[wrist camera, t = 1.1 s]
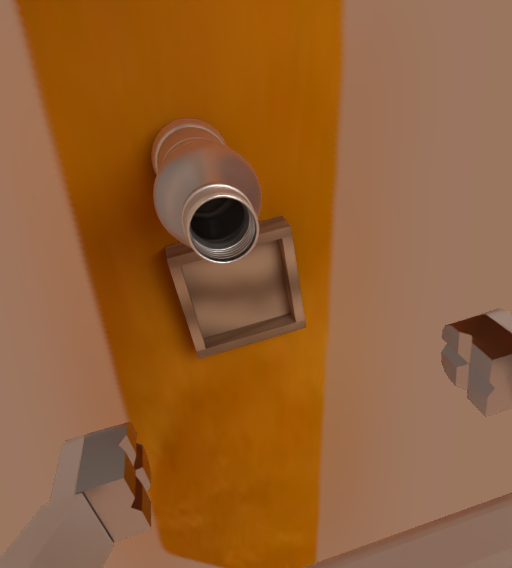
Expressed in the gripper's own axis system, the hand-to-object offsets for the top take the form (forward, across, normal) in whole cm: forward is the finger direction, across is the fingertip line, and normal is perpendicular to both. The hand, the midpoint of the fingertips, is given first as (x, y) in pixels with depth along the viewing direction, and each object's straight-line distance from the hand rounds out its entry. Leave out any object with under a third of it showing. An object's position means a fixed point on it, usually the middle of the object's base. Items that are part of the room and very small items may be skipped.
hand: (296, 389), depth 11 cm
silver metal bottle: (+32, 0, 0) cm, 32 cm away
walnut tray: (+32, -2, +14) cm, 34 cm away
